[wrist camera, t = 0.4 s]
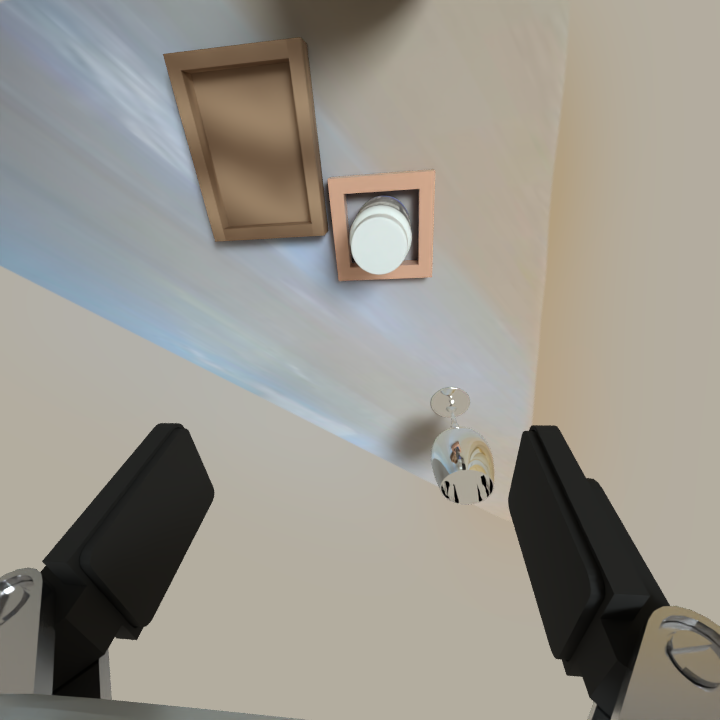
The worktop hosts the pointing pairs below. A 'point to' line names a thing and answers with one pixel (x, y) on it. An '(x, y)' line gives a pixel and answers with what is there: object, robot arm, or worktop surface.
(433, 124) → the worktop surface
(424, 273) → the frame
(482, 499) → the wineglass
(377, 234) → the pill bottle
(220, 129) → the tray
